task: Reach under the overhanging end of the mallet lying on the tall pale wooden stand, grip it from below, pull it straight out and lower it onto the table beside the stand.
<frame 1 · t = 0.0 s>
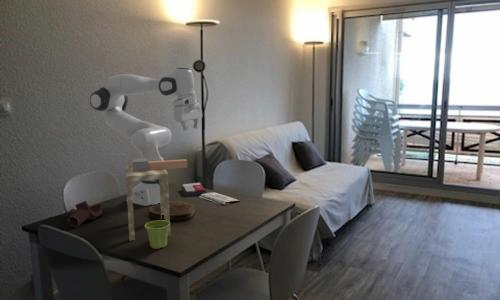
hand: (190, 129, 201), 39 cm above the table, tool pointing down, fingers open, 8 cm apart
mallet: (158, 168, 172), point 26 cm above the table, touching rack
calculator: (193, 193, 232), on the table
plant pot: (158, 246, 157), on the table
newspaper: (219, 201, 218), on the table
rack: (148, 229, 175), on the table
bracket: (86, 221, 186), on the table
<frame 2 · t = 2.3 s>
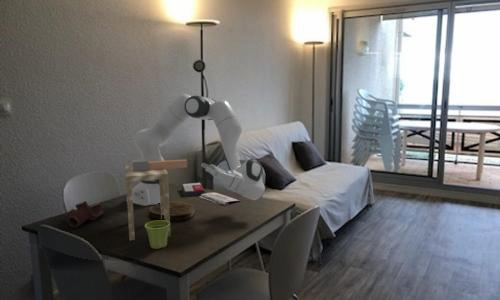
hand: (204, 166, 177), 26 cm above the table, tool pointing upward, fingers open, 8 cm apart
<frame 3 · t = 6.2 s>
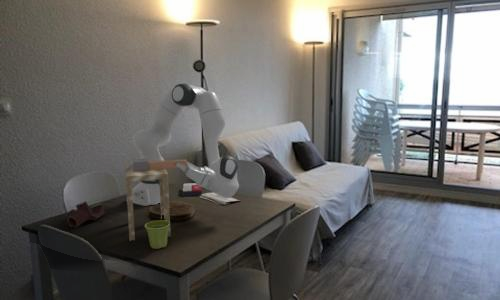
hand: (175, 162, 173), 28 cm above the table, tool pointing upward, fingers closed on mallet, 3 cm apart
mallet: (158, 168, 172), point 26 cm above the table, touching gripper, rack
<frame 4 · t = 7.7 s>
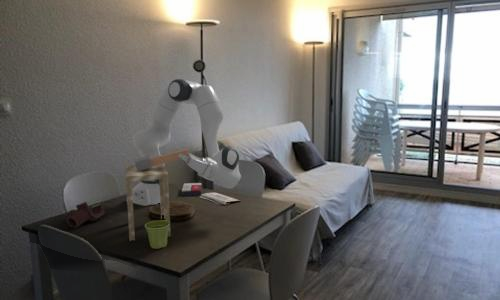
hand: (177, 153, 173), 32 cm above the table, tool pointing upward, fingers closed on mallet, 3 cm apart
mallet: (161, 163, 172), point 28 cm above the table, tilted 12°, touching gripper
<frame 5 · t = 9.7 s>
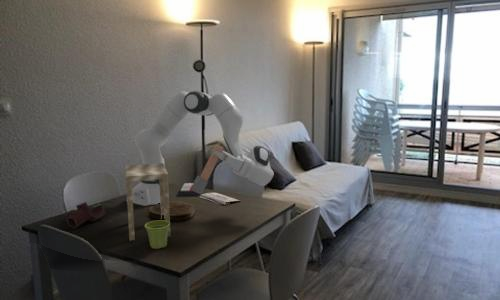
hand: (213, 151, 177), 32 cm above the table, tool pointing upward, fingers closed on mallet, 3 cm apart
mallet: (210, 172, 178), point 23 cm above the table, tilted 62°, touching gripper
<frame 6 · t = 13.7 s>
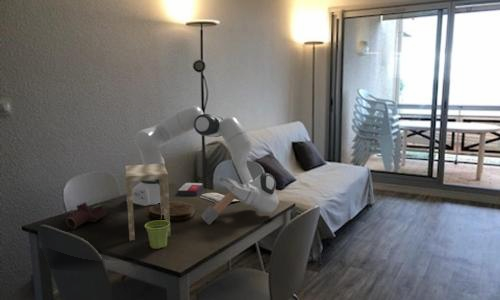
hand: (220, 180, 180), 19 cm above the table, tool pointing upward, fingers open, 8 cm apart
mallet: (224, 207, 183), point 7 cm above the table, tilted 41°, touching arm
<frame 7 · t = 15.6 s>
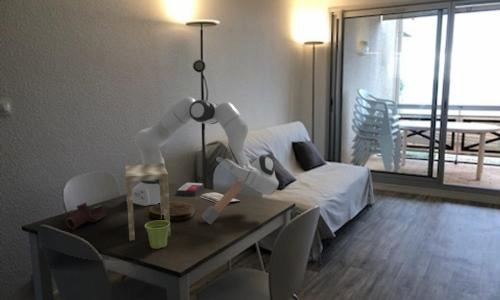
hand: (219, 160, 179), 28 cm above the table, tool pointing upward, fingers open, 8 cm apart
mallet: (224, 206, 183), point 7 cm above the table, tilted 45°
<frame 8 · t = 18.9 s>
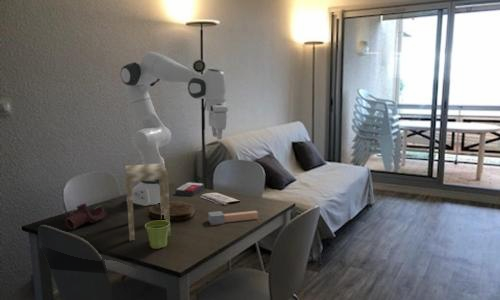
hand: (217, 137, 182), 37 cm above the table, tool pointing down, fingers open, 8 cm apart
mallet: (231, 220, 185), on the table
at the end: mallet on the table; mallet touching table; the gripper is holding nothing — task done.
